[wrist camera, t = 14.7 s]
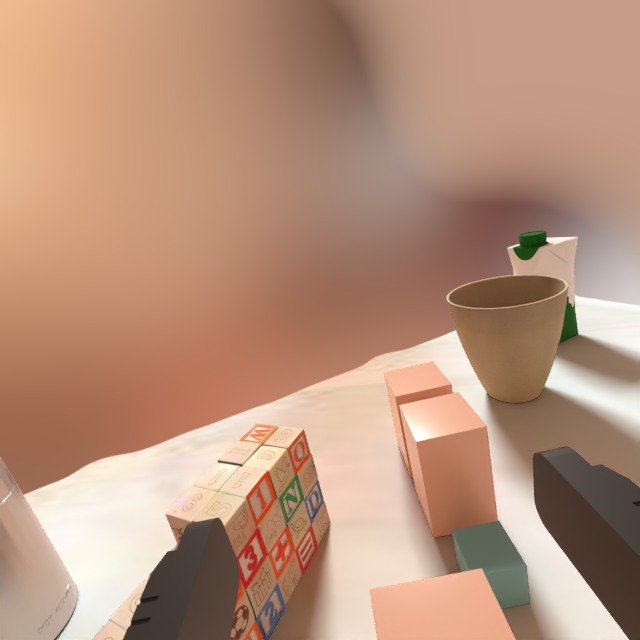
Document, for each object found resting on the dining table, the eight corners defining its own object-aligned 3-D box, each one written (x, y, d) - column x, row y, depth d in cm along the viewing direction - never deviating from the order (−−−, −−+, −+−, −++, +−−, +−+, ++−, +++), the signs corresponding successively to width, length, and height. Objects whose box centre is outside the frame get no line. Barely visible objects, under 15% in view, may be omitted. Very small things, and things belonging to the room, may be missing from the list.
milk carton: (509, 338, 70) (500, 237, 64) (542, 323, 72) (536, 225, 67) (552, 349, 62) (546, 235, 56) (587, 333, 64) (585, 222, 59)
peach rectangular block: (410, 478, 41) (395, 396, 38) (398, 445, 47) (383, 372, 44) (463, 467, 41) (451, 384, 38) (443, 435, 47) (432, 361, 44)
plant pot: (479, 362, 63) (469, 277, 59) (581, 374, 53) (578, 271, 48) (442, 405, 54) (427, 306, 49) (559, 430, 43) (553, 308, 39)
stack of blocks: (179, 820, 21) (94, 686, 17) (118, 761, 24) (36, 637, 20) (331, 521, 38) (304, 426, 35) (284, 510, 41) (255, 420, 38)
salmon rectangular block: (433, 537, 34) (416, 441, 31) (415, 489, 40) (399, 405, 37) (498, 524, 33) (486, 426, 30) (469, 478, 39) (458, 392, 36)
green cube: (478, 614, 27) (472, 576, 26) (457, 565, 31) (451, 530, 30) (530, 604, 27) (526, 565, 26) (502, 556, 31) (498, 520, 30)
